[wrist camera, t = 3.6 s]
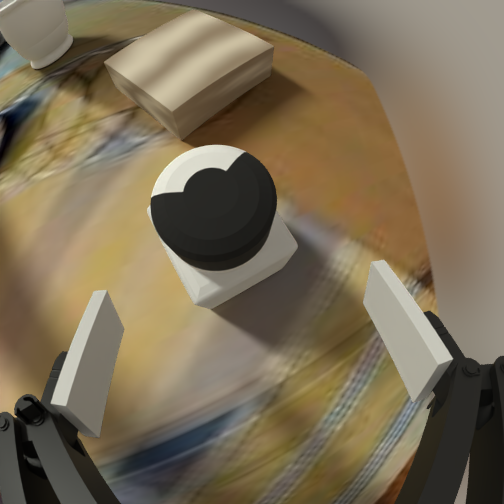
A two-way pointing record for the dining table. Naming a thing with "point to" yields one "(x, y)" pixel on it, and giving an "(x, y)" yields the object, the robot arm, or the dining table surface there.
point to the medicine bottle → (219, 222)
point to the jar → (36, 29)
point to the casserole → (1, 39)
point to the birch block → (190, 69)
